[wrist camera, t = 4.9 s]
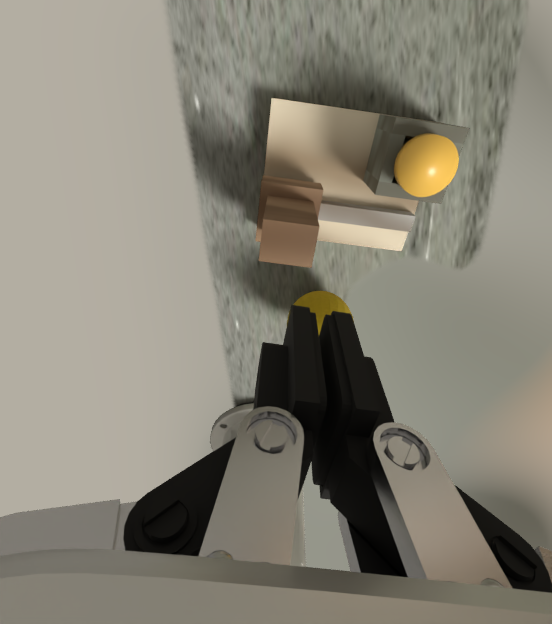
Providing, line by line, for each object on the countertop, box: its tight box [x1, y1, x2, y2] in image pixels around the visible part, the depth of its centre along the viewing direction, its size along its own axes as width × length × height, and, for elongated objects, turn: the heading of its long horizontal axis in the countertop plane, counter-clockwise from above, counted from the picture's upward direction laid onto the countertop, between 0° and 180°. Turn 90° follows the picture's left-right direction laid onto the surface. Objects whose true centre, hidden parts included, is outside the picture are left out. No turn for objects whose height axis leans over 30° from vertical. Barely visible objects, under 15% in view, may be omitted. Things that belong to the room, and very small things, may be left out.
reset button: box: [394, 133, 459, 197], centre depth 21 cm, size 3×3×5 cm
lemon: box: [287, 291, 354, 334], centre depth 28 cm, size 6×6×8 cm
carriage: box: [256, 175, 323, 268], centre depth 22 cm, size 4×4×8 cm
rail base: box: [264, 98, 470, 251], centre depth 24 cm, size 9×12×6 cm
